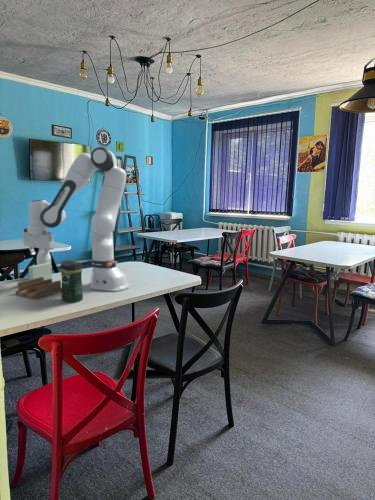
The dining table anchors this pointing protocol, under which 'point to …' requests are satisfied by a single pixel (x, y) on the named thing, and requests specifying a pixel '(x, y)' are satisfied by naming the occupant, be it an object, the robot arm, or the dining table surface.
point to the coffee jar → (71, 281)
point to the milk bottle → (43, 259)
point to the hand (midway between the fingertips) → (38, 255)
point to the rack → (38, 288)
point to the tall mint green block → (40, 271)
